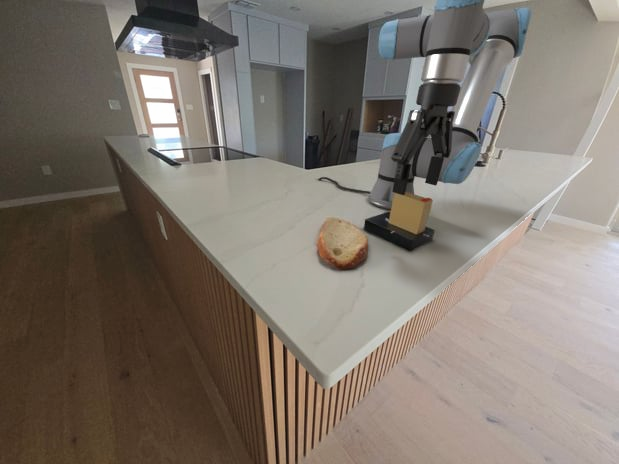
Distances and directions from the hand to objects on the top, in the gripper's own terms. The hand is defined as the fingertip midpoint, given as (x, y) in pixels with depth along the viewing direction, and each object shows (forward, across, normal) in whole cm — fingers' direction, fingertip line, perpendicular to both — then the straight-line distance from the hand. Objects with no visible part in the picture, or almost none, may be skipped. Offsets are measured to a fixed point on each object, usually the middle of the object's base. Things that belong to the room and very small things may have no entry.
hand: (415, 188), depth 59 cm
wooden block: (+10, +1, 0) cm, 10 cm away
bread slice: (+13, +17, -7) cm, 22 cm away
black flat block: (+13, 0, -2) cm, 13 cm away
